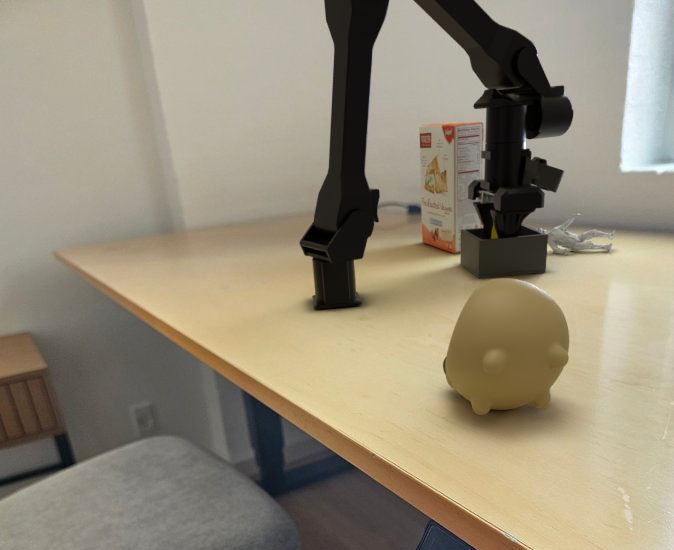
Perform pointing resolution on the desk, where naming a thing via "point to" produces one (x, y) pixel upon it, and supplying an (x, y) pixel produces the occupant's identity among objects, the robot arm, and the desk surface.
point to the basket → (504, 253)
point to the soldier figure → (574, 238)
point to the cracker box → (449, 181)
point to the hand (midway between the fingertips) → (501, 252)
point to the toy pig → (507, 346)
